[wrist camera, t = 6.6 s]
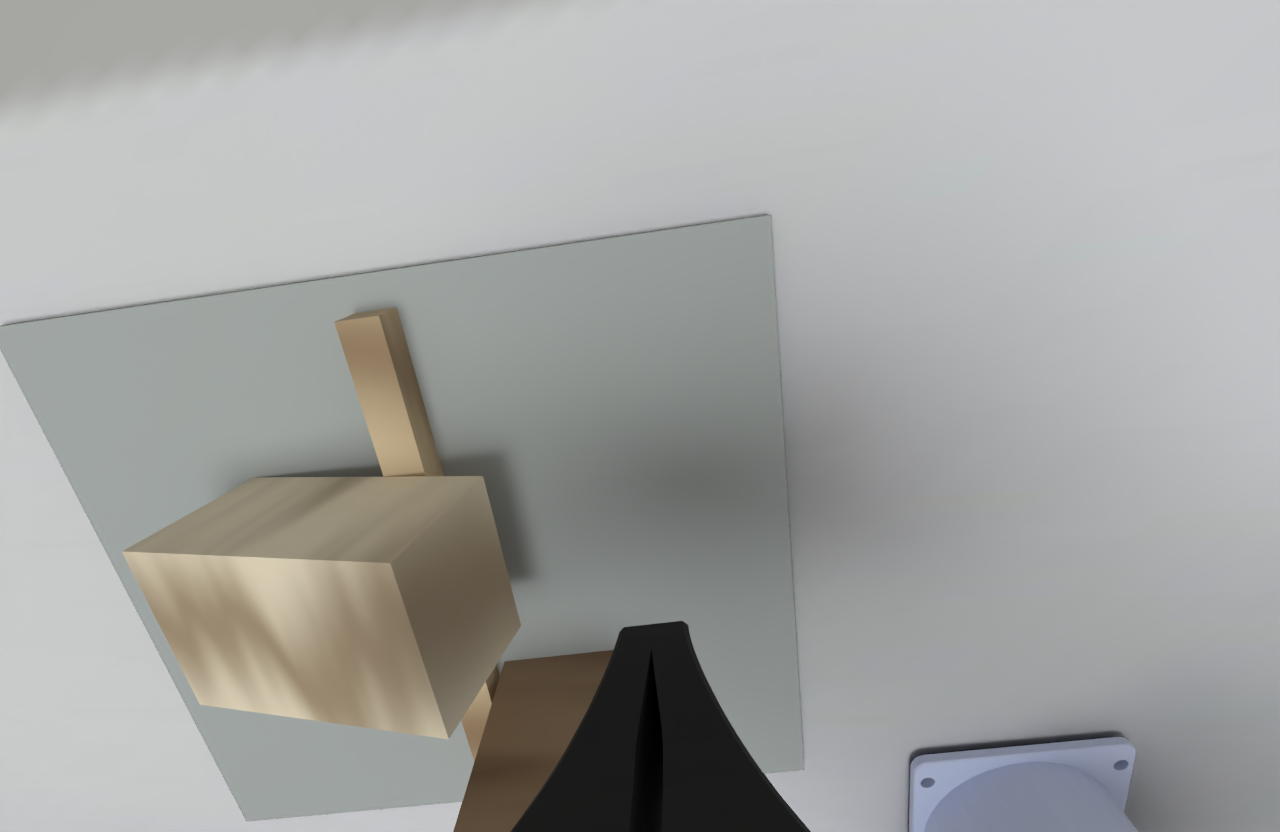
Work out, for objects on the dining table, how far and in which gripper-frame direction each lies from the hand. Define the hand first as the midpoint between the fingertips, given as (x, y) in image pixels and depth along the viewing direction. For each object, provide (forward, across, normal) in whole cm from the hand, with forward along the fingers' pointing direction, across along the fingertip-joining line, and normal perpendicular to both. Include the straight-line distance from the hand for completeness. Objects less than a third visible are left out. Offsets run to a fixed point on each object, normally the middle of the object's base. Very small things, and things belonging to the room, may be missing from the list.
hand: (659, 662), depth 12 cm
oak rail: (+7, +7, +2) cm, 10 cm away
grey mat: (+7, +7, +2) cm, 10 cm away
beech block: (+3, +5, 0) cm, 6 cm away
